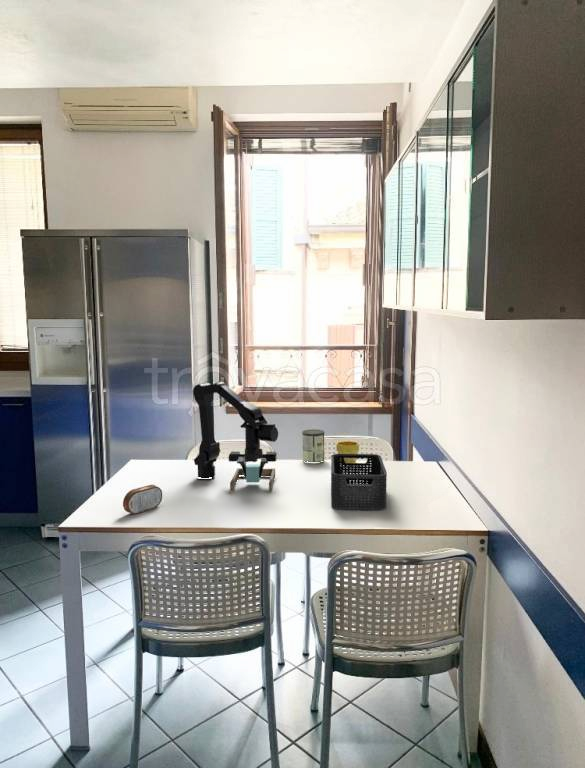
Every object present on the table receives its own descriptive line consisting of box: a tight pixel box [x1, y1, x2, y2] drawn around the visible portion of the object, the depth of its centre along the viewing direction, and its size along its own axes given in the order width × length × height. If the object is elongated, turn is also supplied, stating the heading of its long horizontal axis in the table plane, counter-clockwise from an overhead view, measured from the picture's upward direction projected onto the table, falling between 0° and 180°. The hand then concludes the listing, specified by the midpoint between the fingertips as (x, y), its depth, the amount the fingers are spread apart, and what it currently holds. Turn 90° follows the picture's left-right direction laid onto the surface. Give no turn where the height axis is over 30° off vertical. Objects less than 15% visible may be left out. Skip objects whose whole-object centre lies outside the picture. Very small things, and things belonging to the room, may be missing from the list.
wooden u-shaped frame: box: [229, 467, 276, 493], centre depth 229 cm, size 16×21×4 cm
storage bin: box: [330, 453, 388, 511], centre depth 210 cm, size 29×19×13 cm
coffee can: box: [301, 428, 325, 462], centre depth 263 cm, size 10×10×14 cm
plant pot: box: [335, 440, 360, 463], centre depth 258 cm, size 10×10×10 cm
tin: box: [122, 484, 163, 515], centre depth 197 cm, size 15×3×8 cm, turn 141°
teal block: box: [245, 463, 261, 483], centre depth 226 cm, size 5×5×6 cm
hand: (253, 477), depth 226 cm, fingers closed on teal block, 5 cm apart
